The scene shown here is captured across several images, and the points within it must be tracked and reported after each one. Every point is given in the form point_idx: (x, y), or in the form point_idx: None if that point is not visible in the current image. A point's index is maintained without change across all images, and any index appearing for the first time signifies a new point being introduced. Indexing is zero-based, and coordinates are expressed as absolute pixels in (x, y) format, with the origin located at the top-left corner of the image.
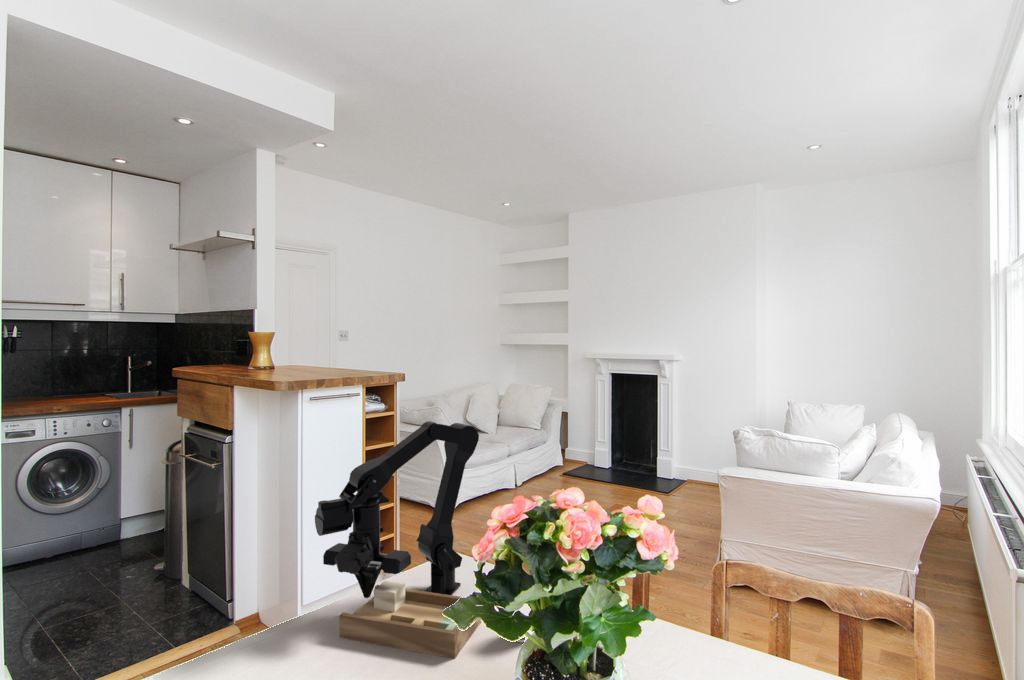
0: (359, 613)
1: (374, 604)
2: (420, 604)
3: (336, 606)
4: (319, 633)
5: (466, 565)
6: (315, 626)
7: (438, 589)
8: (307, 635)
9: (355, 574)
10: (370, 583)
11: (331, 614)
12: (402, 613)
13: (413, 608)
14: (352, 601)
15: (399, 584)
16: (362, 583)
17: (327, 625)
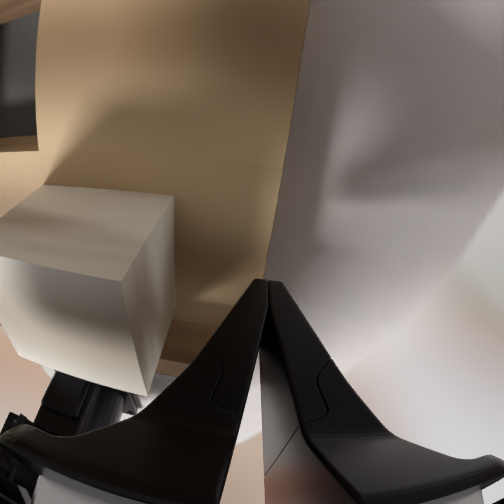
0: (242, 111)
1: (159, 208)
2: None
3: (437, 272)
4: (438, 18)
5: None
6: (482, 90)
7: None
8: (479, 10)
9: (378, 437)
10: (198, 361)
11: (446, 205)
12: (10, 181)
13: None
14: (379, 315)
15: (31, 349)
16: (289, 360)
17: (434, 95)
